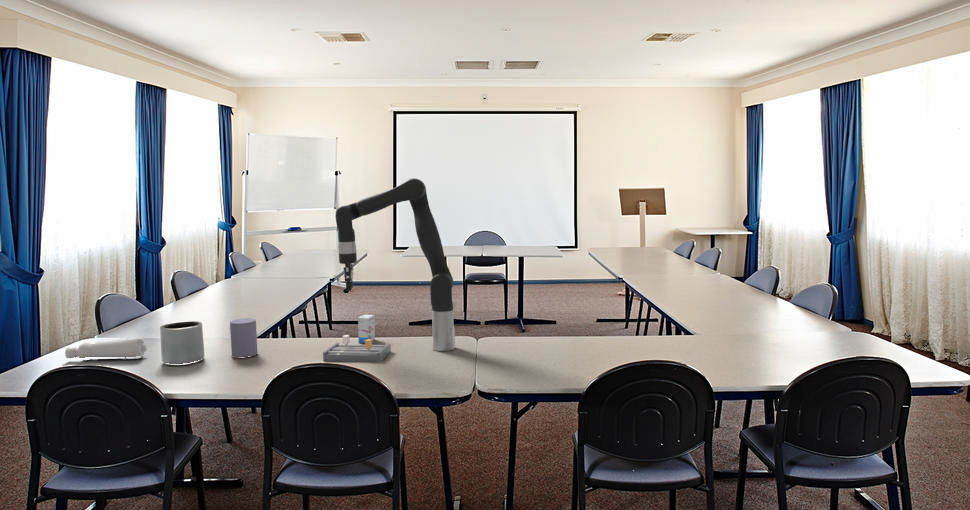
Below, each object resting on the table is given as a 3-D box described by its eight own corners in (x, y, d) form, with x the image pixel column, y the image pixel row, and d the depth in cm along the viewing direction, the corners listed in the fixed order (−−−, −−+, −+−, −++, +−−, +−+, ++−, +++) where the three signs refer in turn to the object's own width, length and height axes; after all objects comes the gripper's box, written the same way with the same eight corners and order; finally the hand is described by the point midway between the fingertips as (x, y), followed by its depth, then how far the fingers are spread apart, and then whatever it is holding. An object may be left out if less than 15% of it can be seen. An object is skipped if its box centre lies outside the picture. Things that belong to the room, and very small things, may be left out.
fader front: (372, 351, 267) (371, 339, 266) (370, 352, 264) (369, 340, 263) (367, 350, 267) (367, 339, 267) (365, 352, 264) (365, 340, 264)
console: (390, 351, 276) (390, 343, 276) (380, 361, 261) (380, 353, 260) (336, 350, 279) (336, 342, 279) (323, 360, 263) (322, 352, 263)
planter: (213, 358, 270) (211, 321, 269) (184, 368, 255) (181, 330, 254) (183, 355, 276) (180, 319, 274) (152, 365, 260) (150, 327, 259)
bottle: (149, 347, 277) (76, 352, 275) (142, 332, 272) (68, 337, 269) (143, 363, 270) (68, 368, 268) (136, 348, 265) (59, 353, 262)
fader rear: (349, 346, 275) (349, 334, 275) (347, 348, 272) (347, 336, 272) (345, 346, 275) (344, 334, 275) (343, 348, 272) (342, 336, 272)
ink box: (368, 343, 291) (367, 318, 290) (358, 343, 292) (357, 317, 291) (375, 339, 300) (374, 314, 299) (365, 338, 301) (364, 314, 300)
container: (262, 355, 274) (260, 320, 272) (238, 360, 267) (236, 324, 265) (250, 351, 281) (248, 317, 279) (227, 355, 274) (225, 321, 272)
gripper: (355, 253, 270) (357, 291, 272) (357, 250, 284) (359, 286, 286) (337, 254, 269) (339, 292, 271) (340, 251, 283) (342, 287, 285)
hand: (349, 289), depth 278 cm, fingers open, 8 cm apart
